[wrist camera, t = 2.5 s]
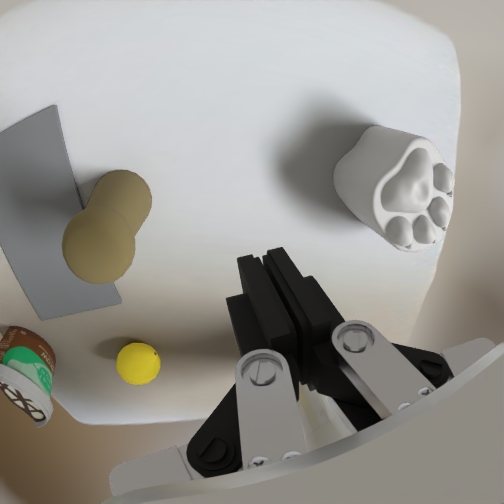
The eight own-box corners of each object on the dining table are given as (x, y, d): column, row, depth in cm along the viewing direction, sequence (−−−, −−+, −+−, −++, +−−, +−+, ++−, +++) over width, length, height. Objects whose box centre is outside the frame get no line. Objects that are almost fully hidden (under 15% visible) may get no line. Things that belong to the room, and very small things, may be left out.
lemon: (140, 365, 36) (136, 397, 32) (110, 345, 33) (102, 379, 29) (173, 347, 35) (171, 382, 30) (141, 325, 32) (135, 361, 27)
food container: (78, 373, 34) (68, 430, 25) (49, 376, 33) (37, 429, 25) (33, 311, 28) (7, 371, 19) (4, 318, 27) (-22, 372, 18)
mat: (56, 104, 19) (54, 105, 18) (121, 300, 30) (121, 303, 30) (-28, 151, 17) (-30, 152, 17) (42, 317, 28) (41, 320, 28)
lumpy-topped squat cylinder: (379, 113, 26) (436, 125, 19) (426, 187, 33) (473, 212, 25) (321, 180, 29) (367, 210, 22) (379, 243, 35) (421, 279, 28)
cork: (96, 164, 23) (50, 204, 13) (158, 176, 25) (145, 222, 15) (89, 224, 25) (51, 289, 16) (145, 234, 27) (133, 305, 18)
